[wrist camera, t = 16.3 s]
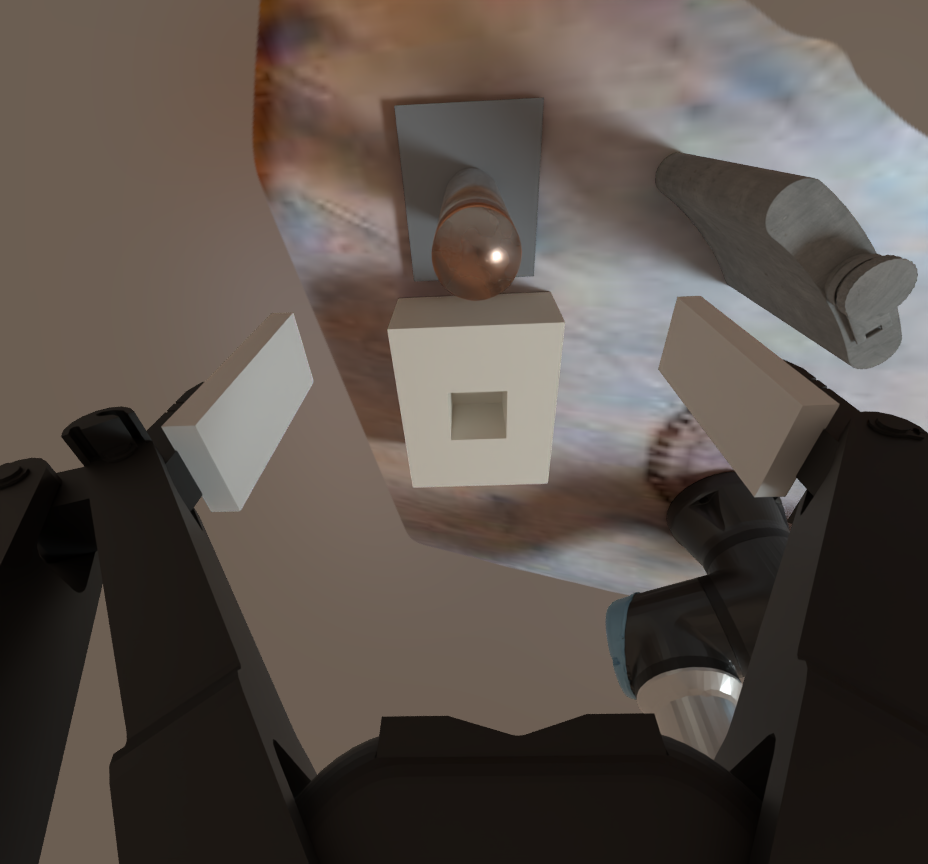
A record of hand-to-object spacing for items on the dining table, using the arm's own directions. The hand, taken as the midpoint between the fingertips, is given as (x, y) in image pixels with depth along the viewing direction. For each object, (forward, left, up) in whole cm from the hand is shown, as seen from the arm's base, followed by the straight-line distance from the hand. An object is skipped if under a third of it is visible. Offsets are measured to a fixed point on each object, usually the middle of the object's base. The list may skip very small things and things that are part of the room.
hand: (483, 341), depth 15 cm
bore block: (-19, 0, -30) cm, 36 cm away
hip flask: (-3, -23, -30) cm, 38 cm away
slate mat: (0, 0, -30) cm, 30 cm away
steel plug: (0, 0, -29) cm, 29 cm away
